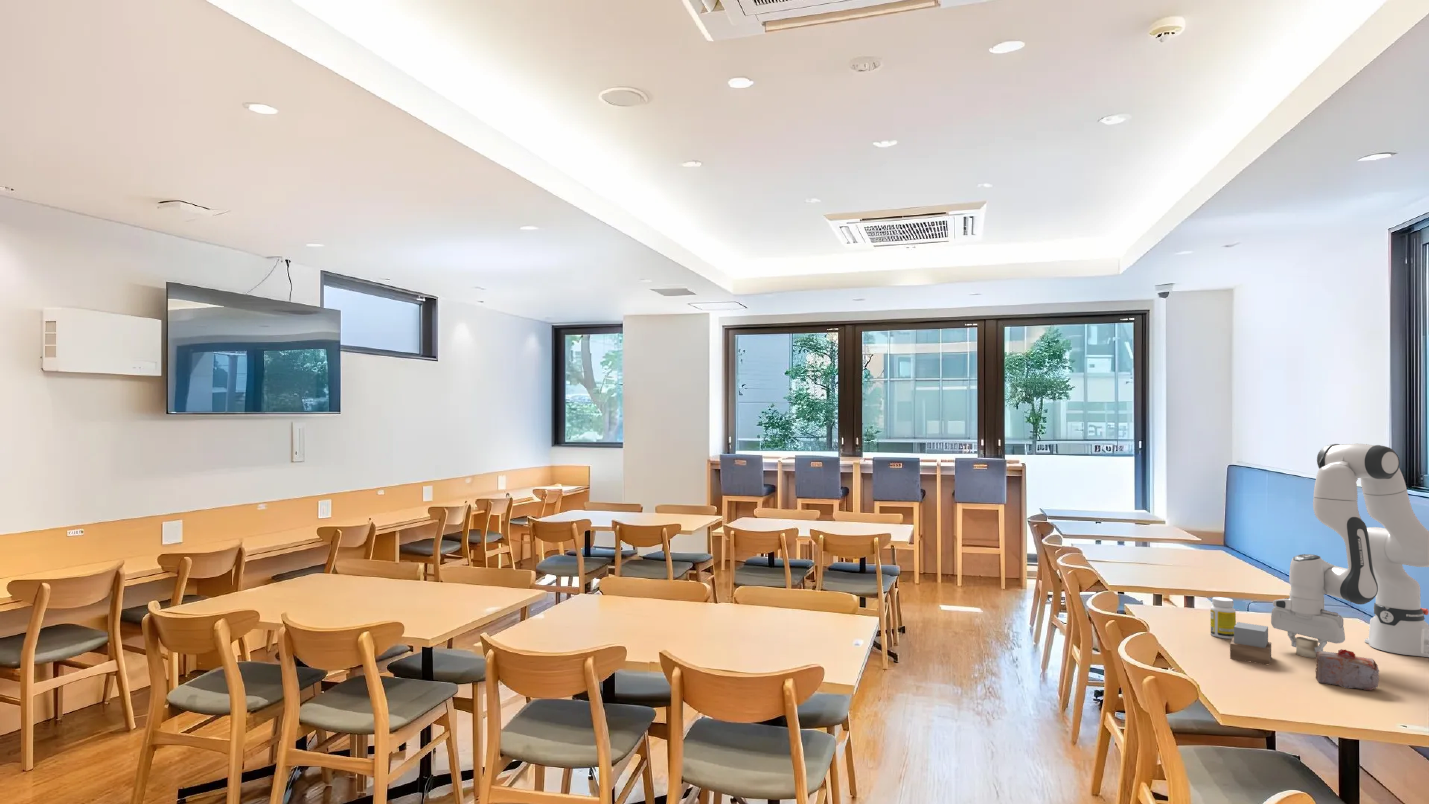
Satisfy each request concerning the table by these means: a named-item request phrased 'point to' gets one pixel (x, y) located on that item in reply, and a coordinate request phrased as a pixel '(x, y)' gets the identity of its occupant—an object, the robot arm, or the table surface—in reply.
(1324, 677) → the food item
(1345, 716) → the table surface
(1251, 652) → the walnut base block
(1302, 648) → the beige block
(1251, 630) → the slate grey top block
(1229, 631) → the supplement bottle
